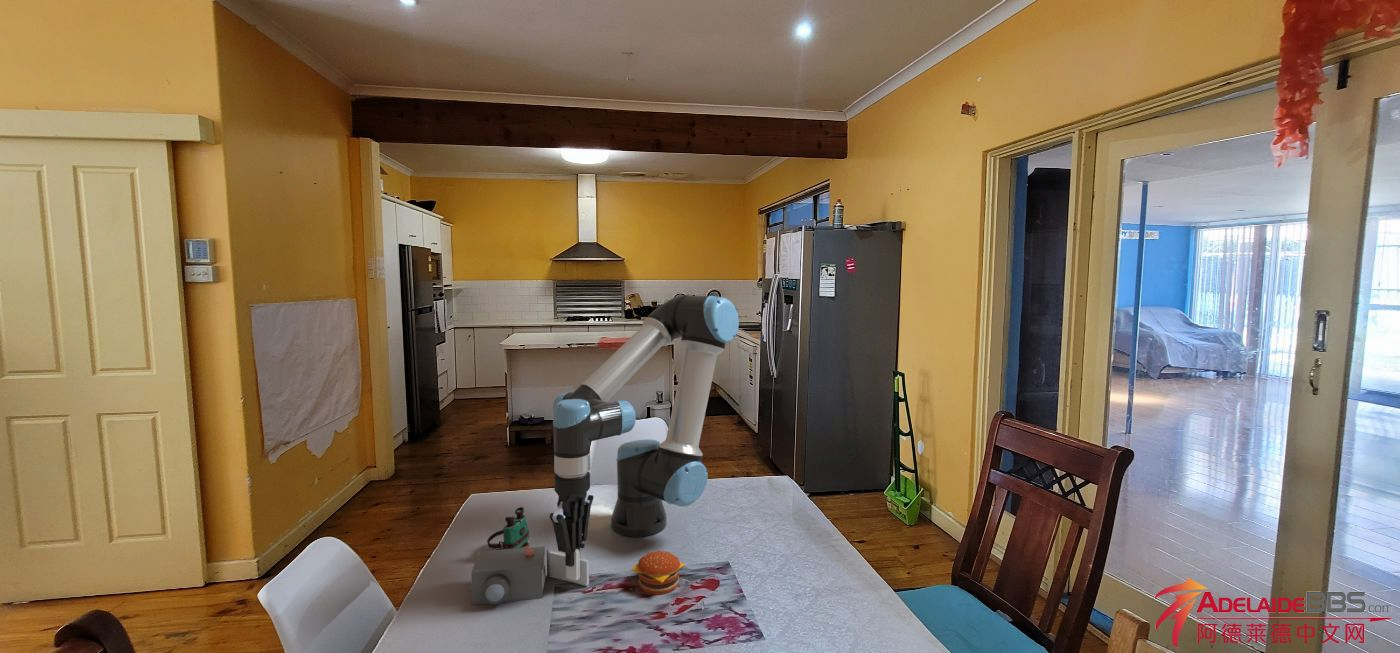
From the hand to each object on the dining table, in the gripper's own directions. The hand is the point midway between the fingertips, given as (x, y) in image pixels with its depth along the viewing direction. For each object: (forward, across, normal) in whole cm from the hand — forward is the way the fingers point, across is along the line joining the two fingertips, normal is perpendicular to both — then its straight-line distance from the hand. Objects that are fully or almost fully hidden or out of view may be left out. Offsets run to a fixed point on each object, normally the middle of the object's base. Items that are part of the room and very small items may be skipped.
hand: (573, 577), depth 122 cm
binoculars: (+3, -7, -24) cm, 25 cm away
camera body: (+3, +7, -11) cm, 14 cm away
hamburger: (+3, -10, +16) cm, 19 cm away
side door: (+2, -2, -3) cm, 4 cm away
